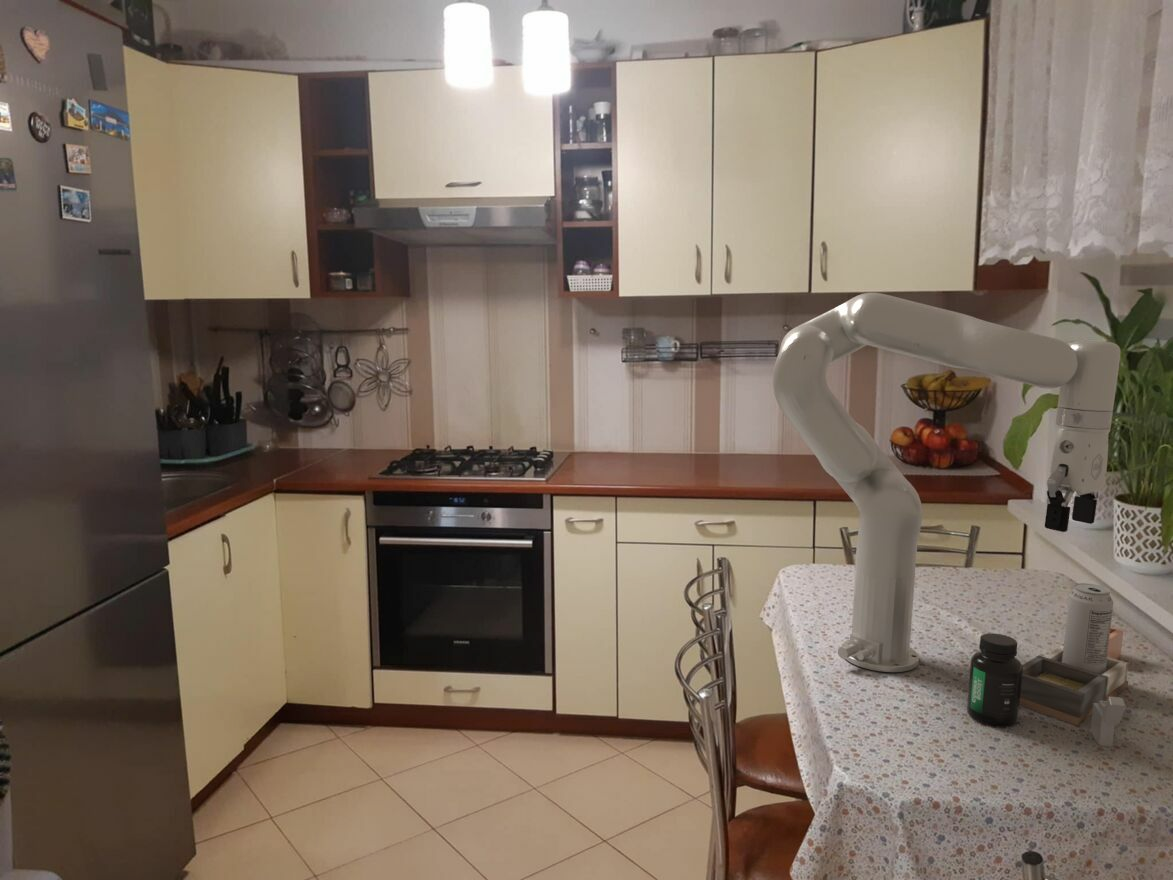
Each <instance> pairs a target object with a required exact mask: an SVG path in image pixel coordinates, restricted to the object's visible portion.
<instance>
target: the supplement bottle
mask: <svg viewBox="0 0 1173 880" xmlns="http://www.w3.org/2000/svg"><path fill="white" fill-rule="evenodd" d="M978 649H979V650H978V651H976V652H975V653H974V654H972V656H971V658H970V666H969V677H968V678H969V679H968V688H967V699H966V700H967V702H966V711H967V714H968V715H969V717H970V718H972V719H973V720H975V721H977V722H978V723H981V724H983V725H986V726H991V727H995V728H996V727H997V728H1008V727H1013V726H1014V725H1016V723H1017V722H1018V720H1019V714H1020V707H1021V706H1020V695H1021V685H1022V674H1023V666H1022V665H1023V664H1022V662H1021V660H1019V659H1018V658H1017V657H1016V656H1017V654H1018V642H1017V640H1016V639H1015V638H1013V637H1011V636H1009V635H1005V634H1001V633H993V632H991V633H990V632H989V633H983V634H981V636H980V639H979V645H978Z"/></svg>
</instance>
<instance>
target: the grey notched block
mask: <svg viewBox="0 0 1173 880" xmlns="http://www.w3.org/2000/svg"><path fill="white" fill-rule="evenodd" d="M1125 709H1126V703H1125V701H1124V698H1123V697H1118V696H1116V697H1111V696H1110V697H1108V700H1107V701H1099V703H1093V711H1092V715H1091V721H1090V730H1089V731H1090V734H1092V735H1091V736H1092V737H1093V738H1094V740H1095V742H1096V743H1097V745H1099V746H1103V747H1110V748H1113V745H1114V738H1115V737H1114V735H1115V727H1116V726H1120V723H1121V721H1122V717H1123V715H1124V713H1125Z"/></svg>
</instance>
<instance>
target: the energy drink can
mask: <svg viewBox="0 0 1173 880" xmlns="http://www.w3.org/2000/svg"><path fill="white" fill-rule="evenodd" d="M1073 587H1074V588H1073V589H1072V591H1071V592H1070V593H1069V595H1068V598H1067V608H1066V609H1067V611H1066V619H1065V620H1066V621H1065V628H1064V629H1065V630H1064V639H1063V645H1064V648H1063V657H1062V663H1065V664H1069V665H1072V666H1075V667H1078V668H1082V669H1085V670H1088V671H1091V672H1095V673H1098V674H1101V675H1102V674H1103V673H1105V672H1106V663H1107V654H1108V645H1109V637H1110V628H1111V627H1112V625H1111V624H1112V620H1113V619H1112V617H1113V609H1114V601H1113V598H1112V597H1111V595H1110V593H1111V590H1110V589H1109V588H1107V587H1104V586H1103V585H1098V584H1093V583H1085V582H1084V583H1076V584H1074V585H1073Z"/></svg>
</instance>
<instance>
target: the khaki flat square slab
mask: <svg viewBox="0 0 1173 880" xmlns="http://www.w3.org/2000/svg"><path fill="white" fill-rule="evenodd" d="M1036 678H1039V679H1042V680H1045V681H1048V682H1051V683H1054V684H1057V685H1060V686H1063V687H1066V688H1070V689H1073V690H1076V691H1078V690H1079V689H1080V688H1082V687H1083V686H1085V684H1082V683H1078V682H1075V681H1072V680H1069V679H1066V678H1063V677H1060V676H1056V675H1053V674H1050V673H1047V672H1043V673H1041V674H1040V675H1038V676H1037V677H1036Z"/></svg>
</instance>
